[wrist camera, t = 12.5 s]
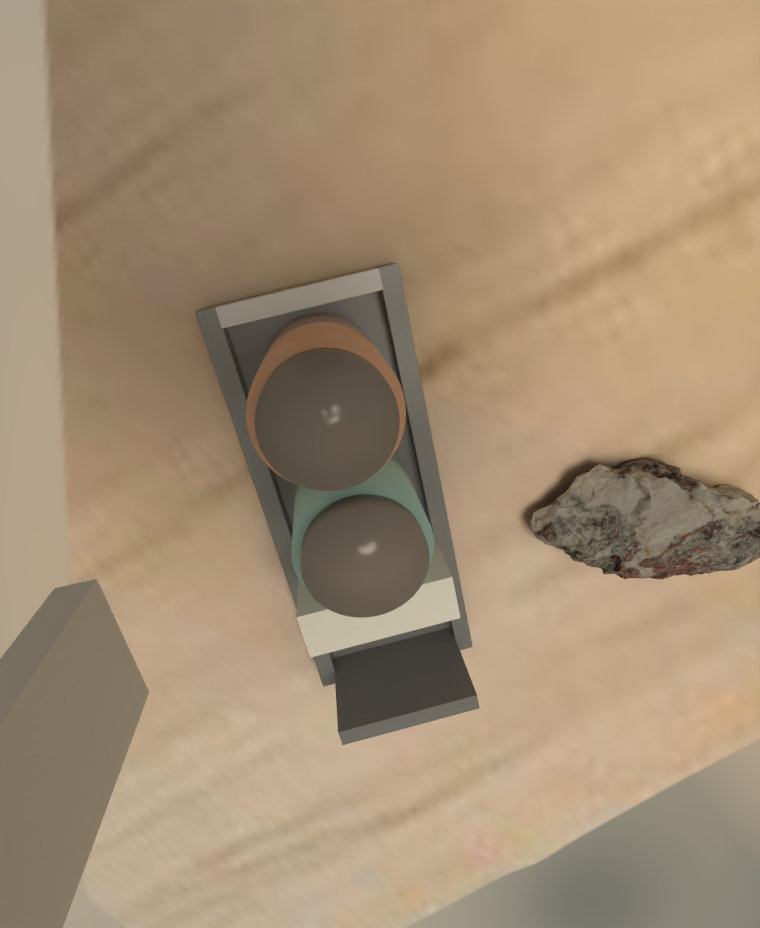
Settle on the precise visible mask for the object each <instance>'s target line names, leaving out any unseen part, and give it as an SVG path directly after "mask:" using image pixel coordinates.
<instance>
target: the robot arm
mask: <svg viewBox="0 0 760 928" xmlns="http://www.w3.org/2000/svg"><path fill="white" fill-rule="evenodd" d="M148 694H149V691H148V689H147V687H146V684H145V682H144V680H143V678H142V676H141V674H140V672H139V669H138V667H137V665H136V663H135V661H134V659H133V656H132V654H131V652H130V650H129V648H128V646H127V643H126V641H125V639H124V637H123V635H122V633H121V631H120V628H119V626H118V624H117V622H116V620H115V618H114V615H113V613H112V611H111V609H110V607H109V605H108V603H107V600H106V598H105V596H104V594H103V592H102V590H101V587H100V585H99V583H98V581H97V579H95V580H90V581H86V582H81V583H77V584H72V585H68V586H64V587H59V588H55V589H54V590H53V591H52V592H51V594H50V595H49V596H48V598H47V599H46V600H45V601H44V603H43V604H42V606H41V607H40V608H39V609H38V611H37V612H36V613H35V615H34V616H33V617H32V619H31V620H30V621H29V622H28V624H27V625H26V626H25V628H24V629H23V630H22V632H21V633H20V634H19V635H18V637H17V638H16V640H15V641H14V642H13V643H12V645H11V646H10V647H9V649H8V650H7V651H6V652H5V654H4V655H3V657H2V658H1V659H0V928H63V925H64V922H65V920H66V917H67V914H68V911H69V909H70V906H71V903H72V900H73V897H74V895H75V892H76V890H77V887H78V884H79V881H80V879H81V876H82V873H83V871H84V868H85V865H86V862H87V860H88V857H89V854H90V852H91V849H92V846H93V843H94V841H95V838H96V835H97V832H98V830H99V827H100V824H101V822H102V819H103V816H104V813H105V811H106V808H107V805H108V803H109V800H110V797H111V794H112V792H113V789H114V786H115V784H116V781H117V778H118V775H119V773H120V770H121V767H122V764H123V762H124V759H125V756H126V754H127V751H128V748H129V745H130V743H131V740H132V737H133V735H134V732H135V729H136V726H137V724H138V721H139V718H140V716H141V713H142V710H143V707H144V705H145V702H146V699H147V696H148Z"/></svg>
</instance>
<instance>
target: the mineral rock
mask: <svg viewBox="0 0 760 928" xmlns="http://www.w3.org/2000/svg"><path fill="white" fill-rule="evenodd" d="M530 524H531V529H532V531H533V533H534V535H535V536H536V538H538V539H539V540H541V541H543V542H544V543H545V544H548V545H551V546H554V547H557V548H560V549H563V550H564V551H565V553H566V554H568V555H570V557H571V558H572V559H573V560H574V561H578V562H584V563H585V564H586V565H588V566H591V567H598V568H601V569H603V574H616V575H619V576H620V577H621V578H624V579H627V578H654V579H664V578H668V577H671V576H673V575H682V574H687V575H690V576H692V575H695V574H704V573H709V574H710V573H711V572H715V571H728V570H736V569H739V568H741V567H743V566H745V565H746V564H748V563H751V562H752V561H754V560H756V559H758V558H759V557H760V503H759V502H758V500H757V499H756V498H754V496H752V495H751V494H749V493H747V492H745V491H744V490H741V489H739V488H736V487H733V486H730V485H725V484H719V485H718V486H717V487H709V486H707V485H704V484H703V483H702V482H700V481H697V480H694V479H692V478H690V477H685V476H682V475H681V472H680V468H677V467H675V466H671V465H667V464H665V463H664V462H662V461H659V460H653V459H641V460H635V461H634V460H633V461H630V462H625V463H624V464H623V465H622V466H620V467H619V468H612V467H610V466H604V465H599V464H598V465H596V466H595V467H594V468H593V469H591V470H590V471H589V472H584V473H582V474H580V475H579V476H577V477H576V479H575V480H574V481H573V483H572V484H571V485H570V487H569V488H568V490H567V491H566V492H565V493H564V494H562V495H561V496H559V497H557V498H556V499H555V500H554V501H552V502H551V504H550V505H548V506H546V507H544V508H541V509H538V510H537V511H535V512H534V513H533V517H532V520H531V521H530Z"/></svg>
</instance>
